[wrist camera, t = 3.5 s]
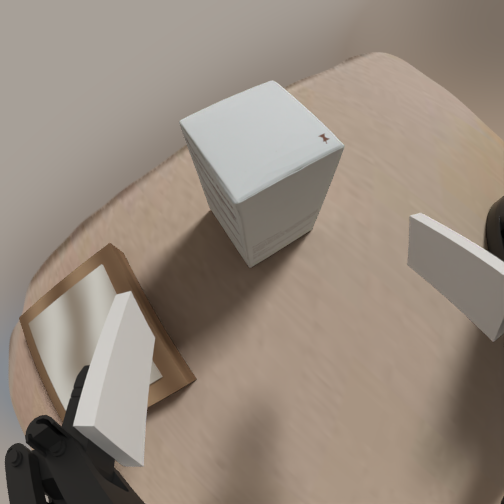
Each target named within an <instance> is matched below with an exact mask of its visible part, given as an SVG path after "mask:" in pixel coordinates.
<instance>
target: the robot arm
mask: <svg viewBox="0 0 504 504" xmlns="http://www.w3.org/2000/svg"><path fill="white" fill-rule="evenodd" d="M487 241H488V248H489V251H487V250H485V249H483V248H482V247H480V246H478V245H477V244H475V243H473V242H472V241H470V240H468V239H467V238H465V237H463V236H462V235H460V234H458V233H457V232H455V231H453V230H451V229H450V228H448V227H446V226H444V225H443V224H441V223H439V222H437V221H435V220H433V219H432V218H430V217H428V216H426V215H424V214H422V213H418V214H415V215H411V216H410V224H409V248H408V263H407V265H408V266H409V267H410V268H412V269H413V270H414V271H415V272H417V273H418V274H419V275H420V276H421V277H423V278H424V279H425V280H426V281H427V282H429V283H430V284H431V285H432V286H433V287H434V288H436V289H437V290H438V291H439V292H440V293H441V294H442V295H444V296H445V297H446V298H447V299H448V300H449V301H450V302H451V303H453V304H454V305H455V306H456V307H457V308H458V309H459V310H460V311H461V312H462V313H464V314H465V315H466V316H467V317H468V318H469V319H470V320H471V321H472V322H473V323H474V324H475V325H476V326H477V327H478V328H479V329H480V330H481V331H482V332H484V333H485V334H486V335H487V336H488V337H489V338H490V339H491V340H492V341H493V342H494V341H495V340H497V339H498V338H499V337H500V336H501V335H503V333H504V196H503V197H502V198H500V199H499V200H498V201H497V202H495V203H494V204H493V205H492V207H491V209H490V211H489V214H488V219H487ZM154 343H155V337H154V335H153V333H152V331H151V329H150V327H149V326H148V324H147V322H146V320H145V318H144V316H143V314H142V312H141V310H140V308H139V306H138V304H137V302H136V300H135V298H134V296H133V294H132V292H131V291H129V292H125V293H121V294H117V295H116V296H115V298H114V301H113V303H112V306H111V308H110V311H109V313H108V316H107V319H106V321H105V324H104V326H103V329H102V332H101V335H100V337H99V340H98V343H97V346H96V349H95V352H94V355H93V358H92V361H91V364H90V365H86V366H84V367H83V368H82V370H81V371H80V372H79V374H78V375H77V377H76V380H75V383H74V386H73V388H74V389H73V390H72V393H71V398H70V399H69V403H68V406H67V410H66V413H65V417H64V420H63V424H62V427H61V426H60V425H59V424H58V423H57V422H56V421H55V420H54V419H52V418H51V417H49V416H47V415H42V416H39V417H37V418H35V419H34V420H33V421H32V422H31V423H30V424H29V426H28V428H27V430H26V435H25V439H26V443H27V444H28V445H29V446H31V447H32V448H33V449H35V450H32V451H31V450H29V449H28V448H27V447H26V446H24V445H23V444H20V443H17V444H14V445H12V446H11V447H10V448H9V449H8V451H7V454H6V456H5V470H6V479H7V488H8V494H9V501H10V504H145V503H144V502H143V501H142V500H141V499H140V497H139V496H138V495H137V494H136V493H135V492H134V490H133V489H132V488H131V487H130V486H129V484H128V483H127V482H126V481H125V479H124V478H123V477H122V475H121V474H120V473H119V472H118V471H117V470H116V469H115V468H114V462H115V460H116V461H117V462H119V463H120V464H121V465H123V466H144V446H145V429H146V415H147V403H148V393H149V383H150V374H151V366H152V358H153V350H154ZM45 495H47V496H48V499H49V503H48V502H46V498H45ZM501 504H504V497H503V499H502V501H501Z"/></svg>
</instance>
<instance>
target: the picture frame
mask: <svg viewBox="0 0 504 504" xmlns="http://www.w3.org/2000/svg"><path fill="white" fill-rule="evenodd" d="M129 291H131V292H132V294H133V296H134V298H135V300H136V302H137V304H138V306H139V308H140V310H141V312H142V314H143V316H144V318H145V320H146V322H147V324H148V326H149V327H150V329H151V331H152V333H153V335H154V337H155V343H154V350H153V358H152V366H151V374H150V383H149V393H148V403H147V408H148V407H150V406H152V405H153V404H155V403H157V402H159V401H161V400H162V399H164V398H166V397H168V396H169V395H171V394H173V393H174V392H176V391H178V390H180V389H181V388H183V387H185V386H186V385H188V384H190V383H191V382H193V381H195V380H196V377H195V376H194V374H193V373H192V371H191V370H190V368H189V367H188V365H187V364H186V362H185V361H184V359H183V358H182V356H181V355H180V353H179V351H178V350H177V348H176V347H175V345H174V343H173V342H172V340H171V339H170V337H169V335H168V334H167V332H166V330H165V329H164V327H163V325H162V324H161V322H160V320H159V319H158V317H157V315H156V313H155V312H154V310H153V308H152V306H151V305H150V303H149V301H148V299H147V297H146V295H145V294H144V292H143V290H142V288H141V286H140V284H139V282H138V281H137V279H136V277H135V275H134V273H133V271H132V269H131V267H130V265H129V263H128V261H127V259H126V257H125V255H124V253H123V252H121V251H120V250H119V249H117V248H116V247H115V246H113V245H112V244H111V243H109V244H108V245H106V246H105V247H104V248H102V249H101V250H100V251H98V252H97V253H96V254H94V255H93V256H92V257H91V258H89V259H88V260H87V261H85V262H84V263H83V264H82V265H80V266H79V267H78V268H77V269H75V270H74V271H73V272H72V273H70V274H69V275H68V276H67V277H65V278H64V279H63V280H62V281H60V282H59V283H58V284H57V285H56V286H54V287H53V288H52V289H51V290H50V291H49V292H47V293H46V294H45V295H44V296H43V297H42V298H40V299H39V300H38V301H37V302H36V303H35V304H34V305H33V306H31V307H30V308H29V309H28V310H27V311H26V312H25V313H24V314H23V315H22V316H20V318H19V319H20V323H21V326H22V329H23V332H24V335H25V338H26V341H27V344H28V347H29V349H30V352H31V355H32V357H33V360H34V363H35V365H36V368H37V370H38V372H39V375H40V377H41V379H42V382H43V384H44V386H45V388H46V390H47V392H48V395H49V397H50V399H51V401H52V403H53V405H54V407H55V409H56V411H57V412H58V414H59V416H60V418H61V420H62V422H63V420H64V417H65V413H66V410H67V406H68V403H69V399H70V398H71V393H72V390H73V389H74V388H73V386H74V383H75V380H76V377H77V375H78V374H79V372H80V371H81V370H82V368H83V367H84V366H86V365H90V364H91V361H92V358H93V355H94V352H95V349H96V346H97V343H98V340H99V337H100V335H101V332H102V329H103V326H104V324H105V321H106V319H107V316H108V313H109V311H110V308H111V306H112V303H113V301H114V298H115V296H116V295H117V294H121V293H125V292H129Z"/></svg>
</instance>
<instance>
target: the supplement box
mask: <svg viewBox="0 0 504 504" xmlns="http://www.w3.org/2000/svg"><path fill="white" fill-rule="evenodd" d="M179 123H180V126H181V129H182V132H183V135H184V137H185V140H186V143H187V146H188V149H189V152H190V154H191V157H192V160H193V162H194V165H195V168H196V171H197V173H198V176H199V179H200V182H201V185H202V188H203V190H204V193H205V196H206V199H207V202H208V205H209V207H210V209H211V211H212V212H213V214H214V215H215V217H216V218H217V220H218V221H219V223H220V224H221V226H222V227H223V229H224V230H225V232H226V233H227V235H228V237H229V238H230V240H231V241H232V243H233V244H234V246H235V247H236V249H237V250H238V252H239V253H240V255H241V256H242V258H243V259H244V261H245V262H246V264H247V265H248V266H249V268H251V267H253V266H254V265H256V264H258V263H259V262H261V261H263V260H264V259H266V258H268V257H269V256H271V255H272V254H274V253H276V252H277V251H279V250H280V249H282V248H283V247H285V246H287V245H288V244H290V243H291V242H293V241H294V240H296V239H298V238H299V237H301V236H302V235H304V234H305V233H307V232H309V231H310V230H312V229H313V226H314V224H315V221H316V219H317V216H318V214H319V211H320V209H321V207H322V204H323V201H324V199H325V197H326V194H327V191H328V189H329V186H330V184H331V181H332V179H333V176H334V173H335V171H336V168H337V166H338V163H339V160H340V158H341V155H342V152H343V150H344V144H343V143H342V142H341V141H340V140H339V139H338V138H337V137H336V136H335V135H334V134H333V133H332V132H331V131H330V130H329V129H328V128H327V127H326V126H325V125H324V124H323V123H322V122H321V121H320V120H319V119H318V118H316V117H315V116H314V115H313V114H312V113H311V112H310V111H309V110H308V109H307V108H306V107H304V106H303V105H302V104H301V103H300V102H299V101H298V100H297V99H296V98H294V97H293V96H292V95H291V94H290V93H289V92H287V91H286V90H285V89H284V88H283V87H281V86H280V85H279V84H278V83H276V82H275V81H269V82H266V83H263V84H261V85H258V86H256V87H254V88H251V89H248V90H246V91H243V92H241V93H238V94H236V95H234V96H231V97H229V98H227V99H224V100H222V101H220V102H218V103H215V104H213V105H211V106H209V107H207V108H205V109H202V110H200V111H198V112H196V113H194V114H192V115H190V116H188V117H186V118H184V119H182V120H180V121H179Z"/></svg>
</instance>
